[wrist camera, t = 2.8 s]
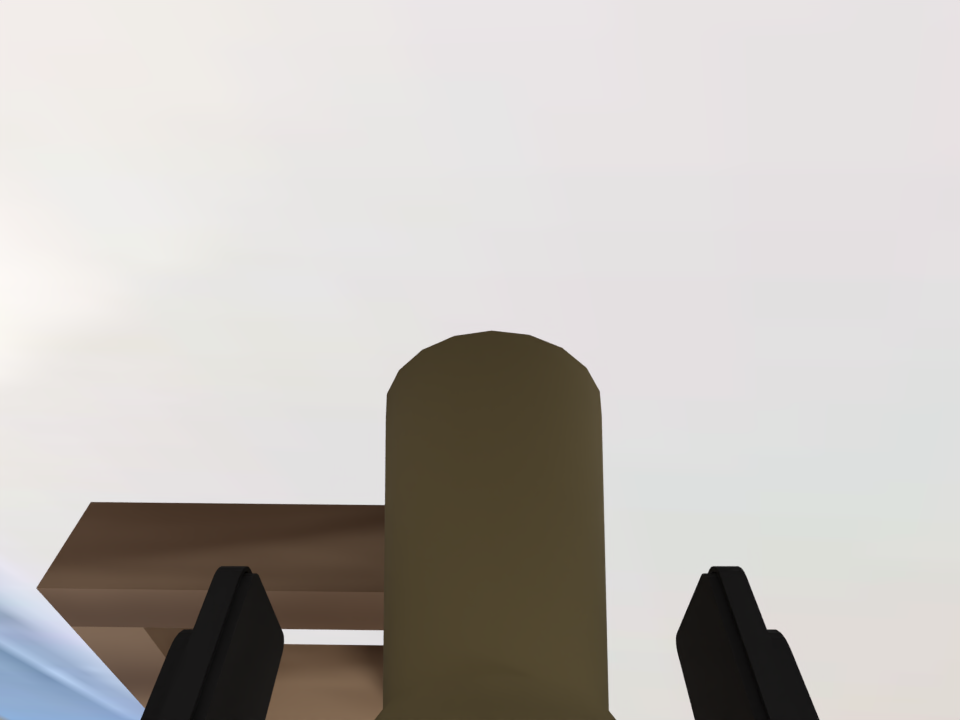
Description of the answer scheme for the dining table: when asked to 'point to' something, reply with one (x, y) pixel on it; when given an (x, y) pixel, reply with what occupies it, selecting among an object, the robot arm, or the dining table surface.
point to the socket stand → (188, 574)
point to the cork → (494, 535)
